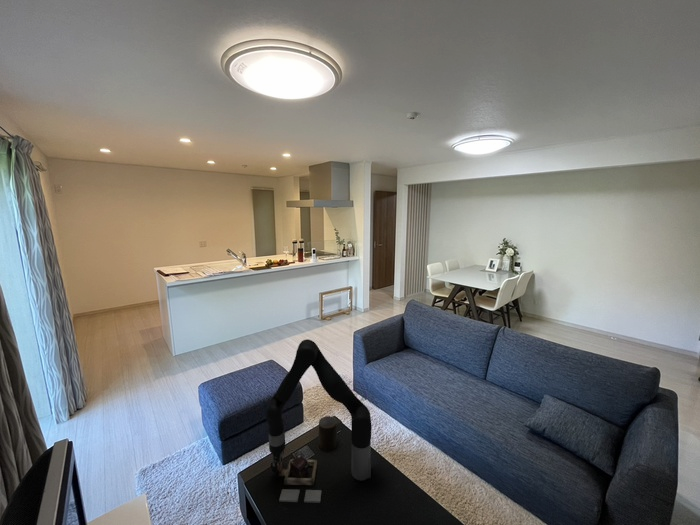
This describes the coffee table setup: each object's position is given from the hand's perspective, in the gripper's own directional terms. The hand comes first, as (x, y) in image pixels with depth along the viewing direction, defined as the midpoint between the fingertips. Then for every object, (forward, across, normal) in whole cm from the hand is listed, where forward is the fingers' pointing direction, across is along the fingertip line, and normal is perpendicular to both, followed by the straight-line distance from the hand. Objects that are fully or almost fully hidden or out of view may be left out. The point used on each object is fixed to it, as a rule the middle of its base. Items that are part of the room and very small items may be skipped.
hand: (278, 470), depth 139 cm
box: (+2, 0, -10) cm, 10 cm away
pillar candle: (+2, +19, -22) cm, 29 cm away
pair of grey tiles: (+2, -11, -13) cm, 17 cm away
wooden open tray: (+2, 0, -8) cm, 8 cm away
